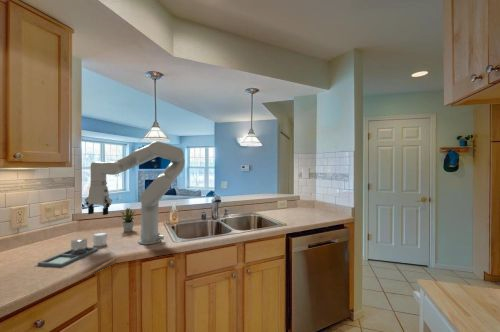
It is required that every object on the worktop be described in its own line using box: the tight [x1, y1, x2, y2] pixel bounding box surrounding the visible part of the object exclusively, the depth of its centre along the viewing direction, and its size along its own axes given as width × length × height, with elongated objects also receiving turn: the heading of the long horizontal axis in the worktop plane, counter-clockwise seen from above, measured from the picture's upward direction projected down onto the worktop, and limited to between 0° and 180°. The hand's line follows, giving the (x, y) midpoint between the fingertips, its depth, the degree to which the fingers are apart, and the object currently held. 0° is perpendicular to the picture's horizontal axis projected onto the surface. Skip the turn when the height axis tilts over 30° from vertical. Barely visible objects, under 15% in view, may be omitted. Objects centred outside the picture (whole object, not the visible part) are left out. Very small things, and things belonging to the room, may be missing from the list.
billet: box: [70, 238, 88, 255], centre depth 126 cm, size 7×7×6 cm
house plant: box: [117, 207, 138, 233], centre depth 175 cm, size 14×14×16 cm
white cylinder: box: [92, 232, 108, 247], centre depth 140 cm, size 7×7×7 cm
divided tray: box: [34, 246, 101, 269], centre depth 121 cm, size 14×24×2 cm, turn 173°
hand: (98, 214), depth 142 cm, fingers open, 9 cm apart
